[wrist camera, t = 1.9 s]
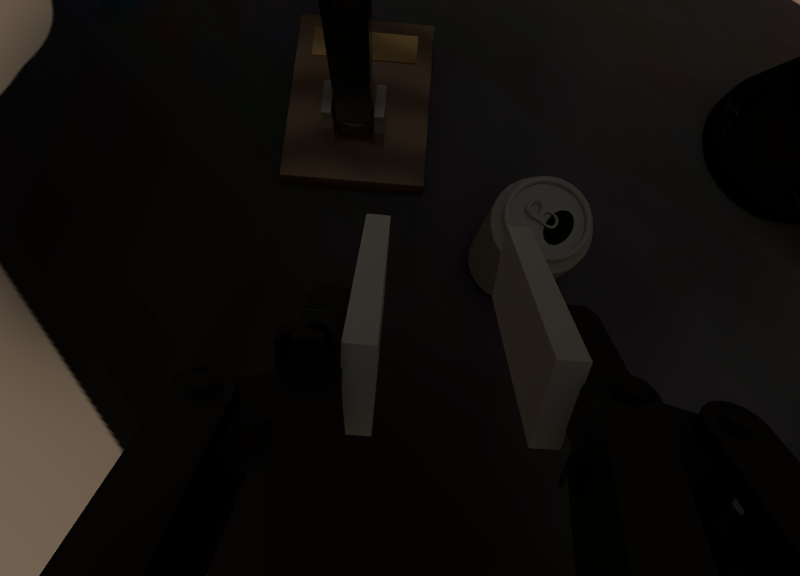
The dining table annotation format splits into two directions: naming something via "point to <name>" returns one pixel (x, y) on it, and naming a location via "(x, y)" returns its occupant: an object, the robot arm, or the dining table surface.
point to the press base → (393, 114)
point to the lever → (350, 62)
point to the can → (534, 226)
